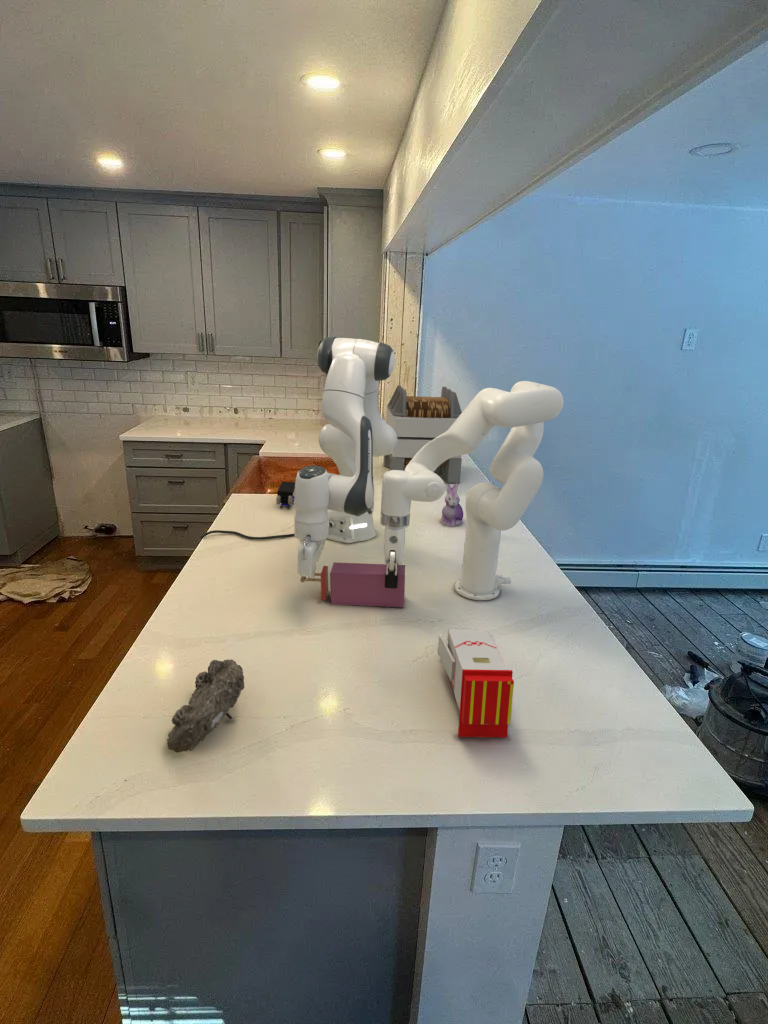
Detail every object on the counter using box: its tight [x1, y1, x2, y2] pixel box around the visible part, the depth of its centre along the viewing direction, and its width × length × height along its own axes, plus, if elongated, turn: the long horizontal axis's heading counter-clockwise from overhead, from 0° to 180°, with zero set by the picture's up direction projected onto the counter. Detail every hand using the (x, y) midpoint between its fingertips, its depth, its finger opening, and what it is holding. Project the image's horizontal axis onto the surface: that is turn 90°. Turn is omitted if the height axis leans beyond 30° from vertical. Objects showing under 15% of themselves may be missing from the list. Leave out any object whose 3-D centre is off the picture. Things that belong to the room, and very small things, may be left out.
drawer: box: [299, 565, 331, 601], centre depth 152 cm, size 24×5×8 cm, turn 87°
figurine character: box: [275, 480, 295, 509], centre depth 223 cm, size 7×8×15 cm
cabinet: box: [329, 561, 406, 608], centre depth 152 cm, size 19×6×9 cm, turn 87°
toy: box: [437, 628, 515, 738], centre depth 117 cm, size 12×13×30 cm
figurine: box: [440, 483, 464, 527], centre depth 210 cm, size 9×10×15 cm
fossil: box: [166, 658, 245, 754], centre depth 106 cm, size 22×10×15 cm
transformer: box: [383, 384, 463, 484], centre depth 268 cm, size 34×33×41 cm
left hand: (311, 577), depth 151 cm, fingers closed, pressing on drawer
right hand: (391, 580), depth 151 cm, fingers closed on cabinet, 6 cm apart
